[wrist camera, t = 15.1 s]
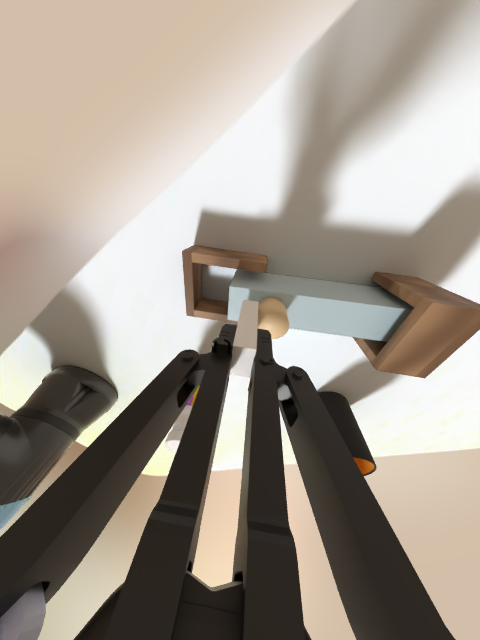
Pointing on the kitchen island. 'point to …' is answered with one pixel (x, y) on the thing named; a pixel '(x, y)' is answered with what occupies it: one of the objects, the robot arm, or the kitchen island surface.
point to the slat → (317, 306)
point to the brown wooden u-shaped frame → (193, 278)
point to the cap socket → (422, 327)
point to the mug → (349, 430)
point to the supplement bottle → (179, 426)
